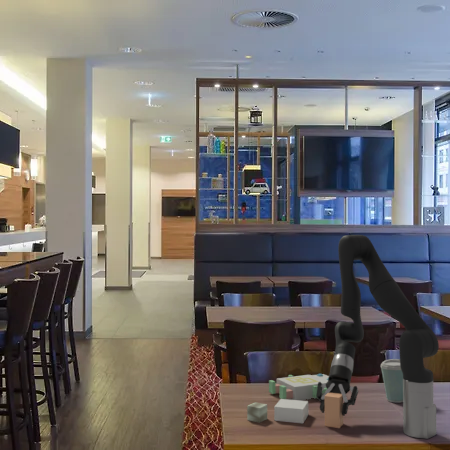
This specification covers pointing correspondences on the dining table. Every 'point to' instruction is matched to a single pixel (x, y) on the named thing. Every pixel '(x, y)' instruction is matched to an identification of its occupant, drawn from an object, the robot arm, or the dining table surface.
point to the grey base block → (291, 411)
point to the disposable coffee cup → (393, 380)
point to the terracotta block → (333, 410)
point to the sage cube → (257, 412)
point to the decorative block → (298, 386)
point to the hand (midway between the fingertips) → (332, 413)
